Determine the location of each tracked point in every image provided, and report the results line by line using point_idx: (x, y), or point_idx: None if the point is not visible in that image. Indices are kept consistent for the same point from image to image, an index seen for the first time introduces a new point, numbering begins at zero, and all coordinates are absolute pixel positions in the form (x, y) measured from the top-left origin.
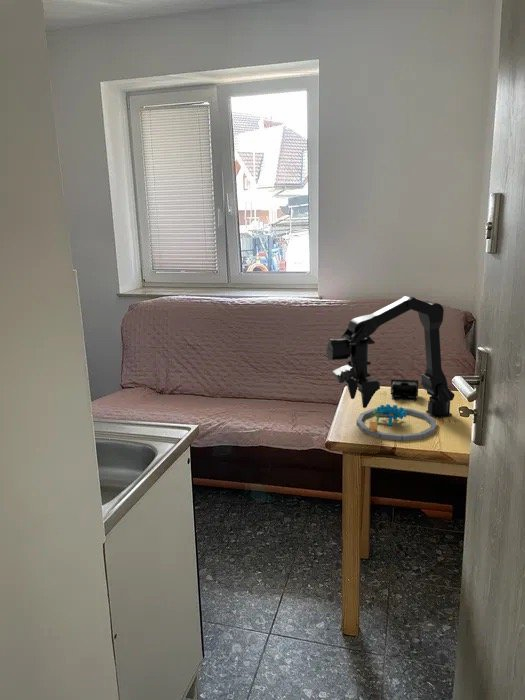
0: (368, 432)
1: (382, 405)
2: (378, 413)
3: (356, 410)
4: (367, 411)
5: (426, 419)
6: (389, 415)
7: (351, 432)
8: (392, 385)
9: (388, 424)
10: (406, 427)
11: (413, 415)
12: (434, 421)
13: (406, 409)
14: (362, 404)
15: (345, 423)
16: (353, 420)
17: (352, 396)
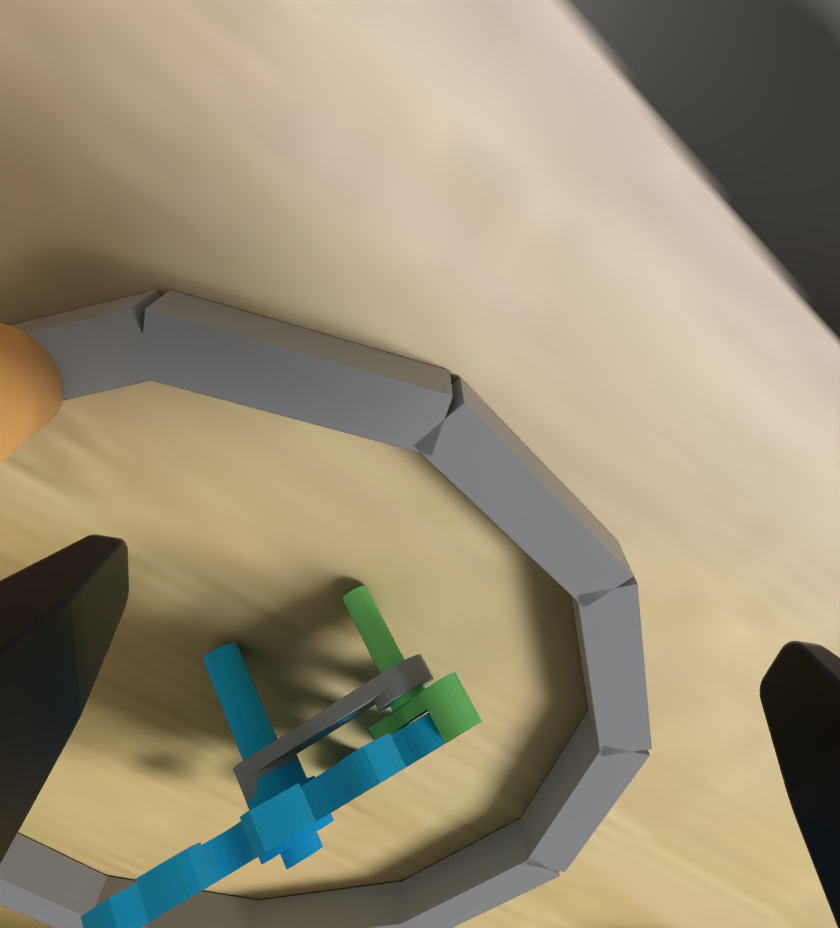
0: (59, 316)
1: (255, 847)
2: (402, 710)
3: (819, 626)
4: (627, 673)
5: (192, 908)
6: (255, 757)
7: (236, 120)
8: None
9: (229, 651)
10: (132, 733)
11: (352, 889)
12: (69, 925)
13: (425, 919)
14: (73, 579)
15: (591, 265)
16: (604, 426)
17: (809, 706)
